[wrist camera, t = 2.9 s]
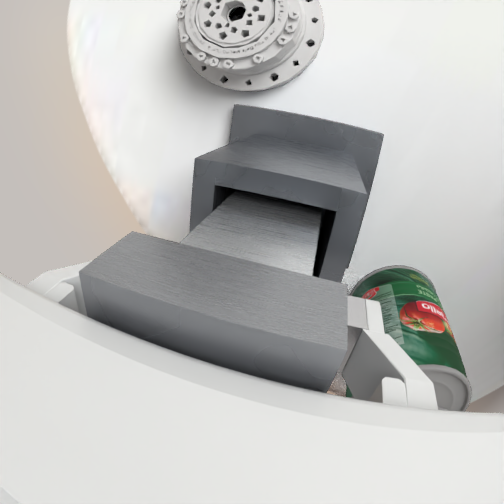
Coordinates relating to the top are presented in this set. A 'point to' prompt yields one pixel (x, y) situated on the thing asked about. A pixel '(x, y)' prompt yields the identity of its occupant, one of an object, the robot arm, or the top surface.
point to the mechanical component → (250, 40)
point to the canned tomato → (419, 330)
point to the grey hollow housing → (295, 174)
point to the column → (230, 292)
